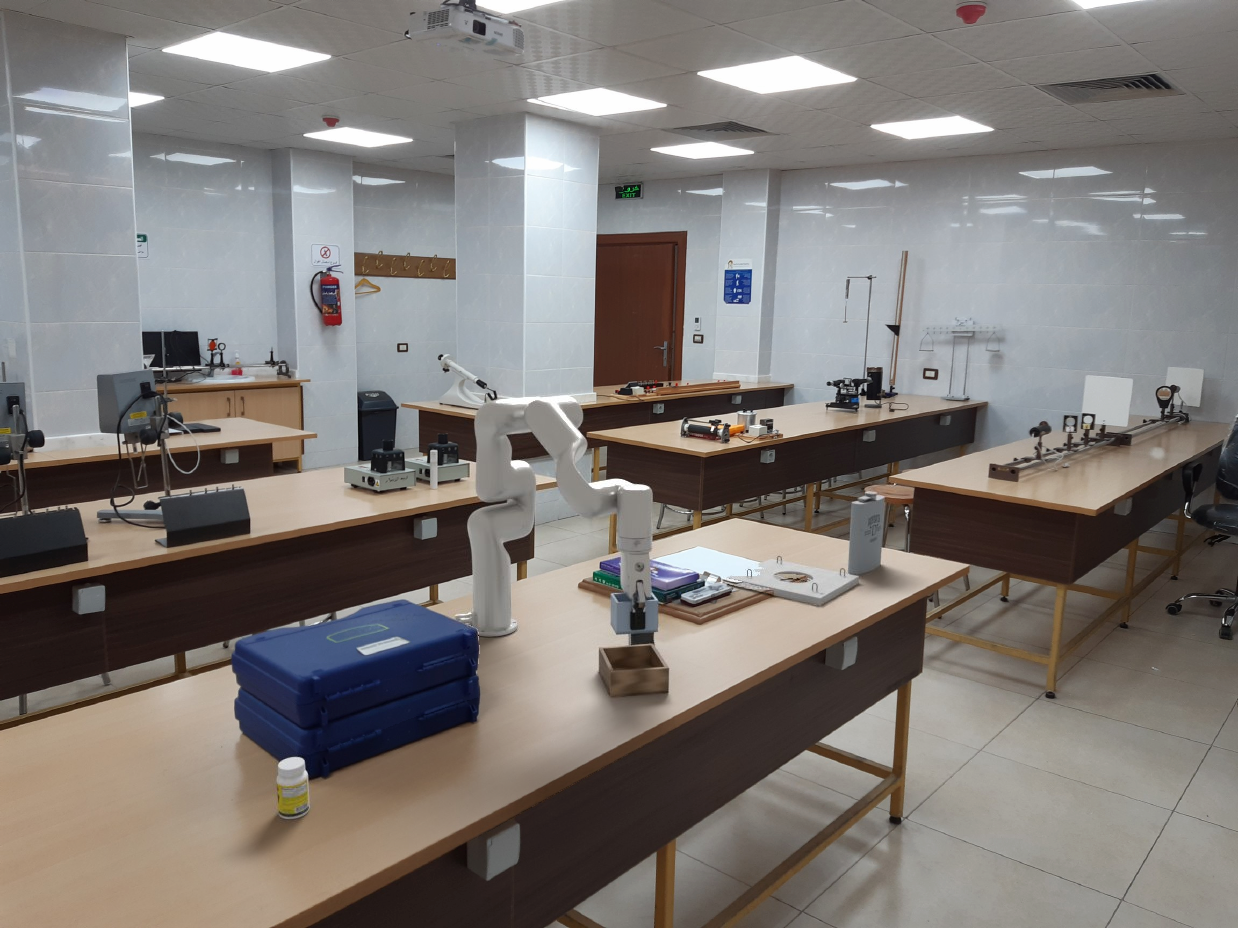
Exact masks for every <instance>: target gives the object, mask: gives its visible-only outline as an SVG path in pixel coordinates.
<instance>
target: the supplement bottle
mask: <svg viewBox="0 0 1238 928" xmlns="http://www.w3.org/2000/svg"><path fill="white" fill-rule="evenodd" d="M277 773H278V775H277V776H276V795H277V811H278V816H279V817H280V818H282V819H284V820H296V819H299V818H301V817H304V816H305V815H306V814H308V813H309V811H310V807H311V804H310V788H309V787H310V785H309V774H308V771H307V770H306V762H305V759H304V758H302V757H300V756H299V757H298V756H292V757H287V758H285V759H283V760H282V759H281V760H280V762H278V765H277Z"/></svg>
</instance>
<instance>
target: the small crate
mask: <svg viewBox="0 0 1238 928" xmlns="http://www.w3.org/2000/svg"><path fill="white" fill-rule="evenodd" d="M644 595H645V594H644ZM633 597H638V596H637V595H633ZM636 602H638V600H636V601H635V604H636ZM645 611H646V614H645V629H644V630H631V629H630V612H632V608H631V599H630V598H628V596H627V595H626V594H625V593H624V592H614V593H610V626H611V628H612V629H613V632H614V633H615V635H616V636H618V635H628V634H636V633H650V632H654V633H659V600H658V598H657V597H656V595H655V594H654V593H653V591H651V597H650V598H647V597H646V596H645Z"/></svg>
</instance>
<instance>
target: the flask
mask: <svg viewBox="0 0 1238 928" xmlns="http://www.w3.org/2000/svg"><path fill="white" fill-rule="evenodd" d="M885 499H886V497H885V495H880V494H879V495H878V492H877V491H871V490H870V491H868V490H867V491H865V492H864V495H862V496H861V497H857V500H856V501H855V500H854V501H851V508H850V509H851V511H850V525H849V526H850V527H849V529H850V530H849V542H848V543H849V544H848V563H847V574H850V575H855V576H859V575H862V574H865V573H868V572H871V571H873V570H875V569H877V568H879V567H880V566H881V562H882V546H883V533H884V531H883V529H884V517H885V516H884V515H885Z"/></svg>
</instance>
